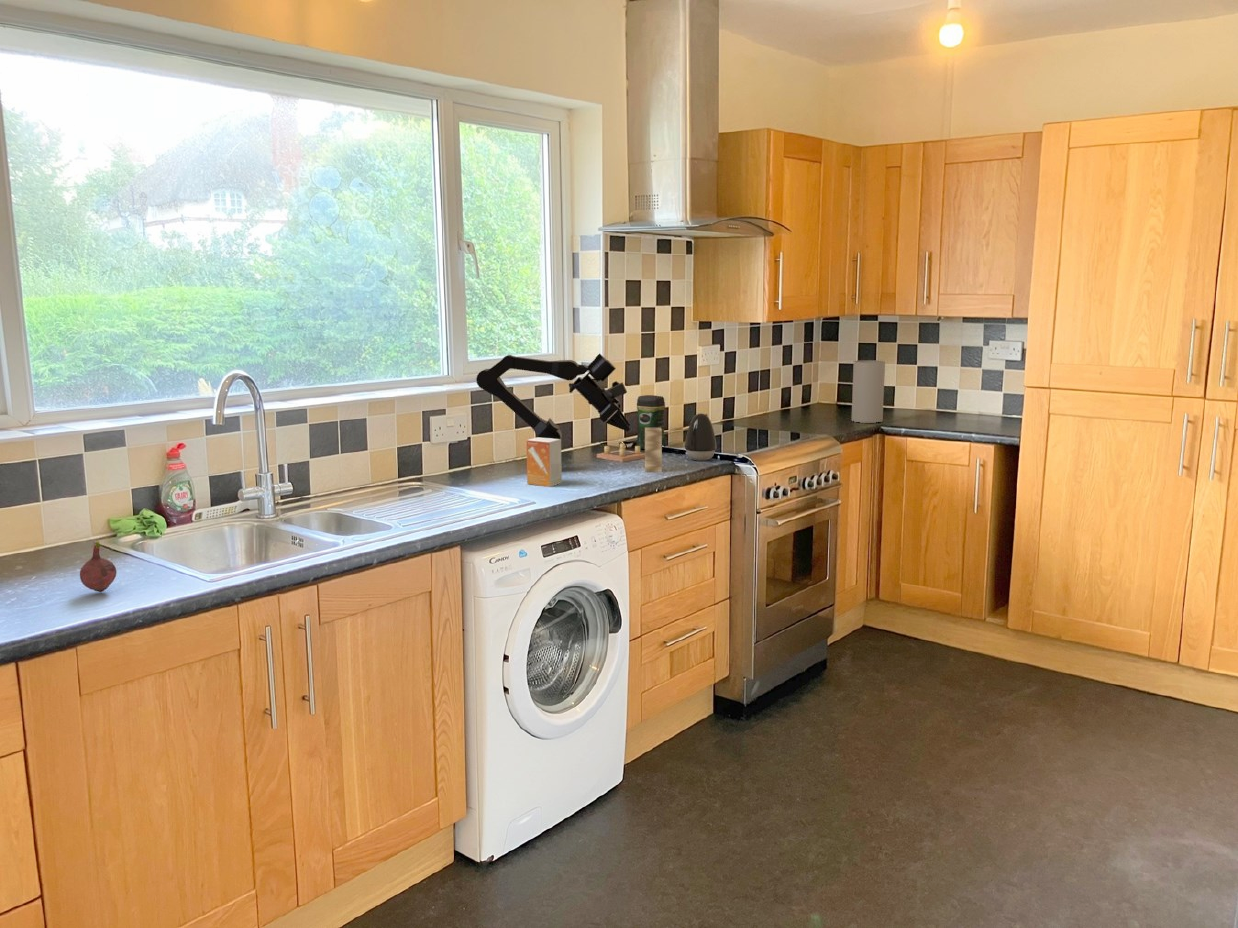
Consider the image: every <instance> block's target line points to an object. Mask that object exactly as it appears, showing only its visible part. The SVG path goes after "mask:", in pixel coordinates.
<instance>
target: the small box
mask: <svg viewBox="0 0 1238 928" xmlns="http://www.w3.org/2000/svg"><path fill="white" fill-rule="evenodd" d="M562 471H563V470H562V438H561V439H553V438H540V437H538V436H537V437H533V438H529V439H526V483H527V485H534V486H540V487H541V486H542V487H547V488H552V487H554V485H555V486H558V485H560V484H562V483H563V482H562V480H563V479H562V476H563V473H562ZM557 484H558V485H557ZM551 486H552V487H551Z"/></svg>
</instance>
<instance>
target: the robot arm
mask: <svg viewBox="0 0 1238 928" xmlns="http://www.w3.org/2000/svg"><path fill="white" fill-rule="evenodd" d="M512 369H513V370H519V371H527V372H532V373H533V372H535V373H541V374H548V375H551V376H554V377H556V378H558V379H562V380H564V381H574V382H569V383H568V387H569V393H570V394H571V393H573V392H574V390H576V391H577V392H578V393H579V394H580V395H581V396H582V397H583V398H584V399H585V400H586V401H587V403H588V404H589V405H591V406H592V407H593V408H594V409H595V410H597V413H598V414H599V419H600V420H601V421H602V422H603V423H605V424H607V425H609V426H613V427H616V428H618V429H620V430H623V431H625V432H629V431H630V430H631V428H630V425H631V424H630V422H629V420H628V419H627V418H626V417H625V415H624V413H623V411H622V410H621V402H620V400H619V399H618V397H619V396H623V395H625V394H627V389H626V387H625V385H624V382H618V381H617V380H616V381H614V382H612V383H611V387H609V388H608V389H605V388H604V387H601V386H600V385H599V384H598V383H597V382H600V381H602V382H604V381H605V380H607V379H608V378H609V376H610V375H612V373H613V372H614V371H615V370H616V366H615V365H614V364H613V363H612V362H611V361H610V360H609V359H606V357H604V356H603V355H602V354H601V353H598V354H597V356H596V357H595V358H594V359H593V360H592V361H591V362H590V363H589V364H588V365H587V364H578V363H577V362H576V361H575V360H573V359H562V360H561V359H560V360H559V359H558V360H544V359H537V358H531V357H530V358H529V357H523V356H515V355H512V354H507V355H505V356H504V357H503V358H502V359H501V360H500V361H499V362H497V363H496V364H495V365H494V364H493V366H492V367H490V368H485V369H482V370H480V371H479V373H478V374H477V375H476V378H475V381H476V384H477V386H478V387H479V388H480V389H482V390H483V391H485V392H486V393H488V394H490V395H492V396H494V397H496V398H498V399H499V400H500V401H501V402H502V403H503V404H504V405H505V406H507V407H508V408H509V409H510V410H511V411H512V412H514V413H515V414H516V415H517V416H518V417H519V418H520V419H521V420H523V421H524V422H525V423H526V424H527V425H528V426H529V427H530V428H531V429H532V430H533V431H534V433H535V434H536V436H537V437H540V438H553V439H561V440H562V438H563V434H562V433H563V432H562V430H561V428H560V427H561V426H560V425H558V424H556V423H555V422H554V421H553V420H552V418H548V420H545V419H543V418H541V417H540V416H539V415H538V414H537V413H535V411H533V409H531V408H530V407H529V406H528V405H527V404H526V403H525V402H524V401H522V400H521V398H519V397H518V396H517V395H516V394H514V393H513V392H512V390H510V389H509V388H508V387H507V385H506V384H505V382H504V381H503V380H502V379H503V378H501V376H502V375H504V374H506V373H507V371H509V370H512ZM586 373H587V374H586ZM580 375H581V376H582V375H584V376H583V377H580ZM578 376H579V377H578ZM590 376H591V377H590ZM576 378H577V379H576ZM575 379H576V380H575Z"/></svg>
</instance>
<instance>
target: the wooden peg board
mask: <svg viewBox="0 0 1238 928" xmlns="http://www.w3.org/2000/svg"><path fill="white" fill-rule="evenodd" d="M603 447H604V448H603V450H604V452H601V453H596V458H597V459H604V460H610V461H615V462H620V463H623V462H624V463H626V462H629V461H635V460H639V459H645V452H641V448H640V446H637V445H635V446H634V451H633V450H627V449H626V443H619V449H618V450H612V451H611V446H609V445H605V446H604V445H603Z"/></svg>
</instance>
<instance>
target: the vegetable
mask: <svg viewBox="0 0 1238 928" xmlns="http://www.w3.org/2000/svg"><path fill="white" fill-rule="evenodd" d="M93 546H94V547H93V551H92V557H91V558H89V560H88V561H86V562H85V563H84V564H83V565H82V566H81V567H80V570H79V579H80V582H81V583H82V584H83V585H84V587H86V588H88V589H90V590H93V592H94V591H95V592H99V593H102V592H105V590H106V589H108V588H109V586H111V584H112V583H113V582H114V580H115V579H116V577H117V573H118V572H117V568H116V565H115V564H114V563H113V562H112V561H110V560H108V559H106V558H103V557H101V556H100V547H101V545H100V542H99V541H98V540H97V541H96V542H95V544H94V545H93Z"/></svg>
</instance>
